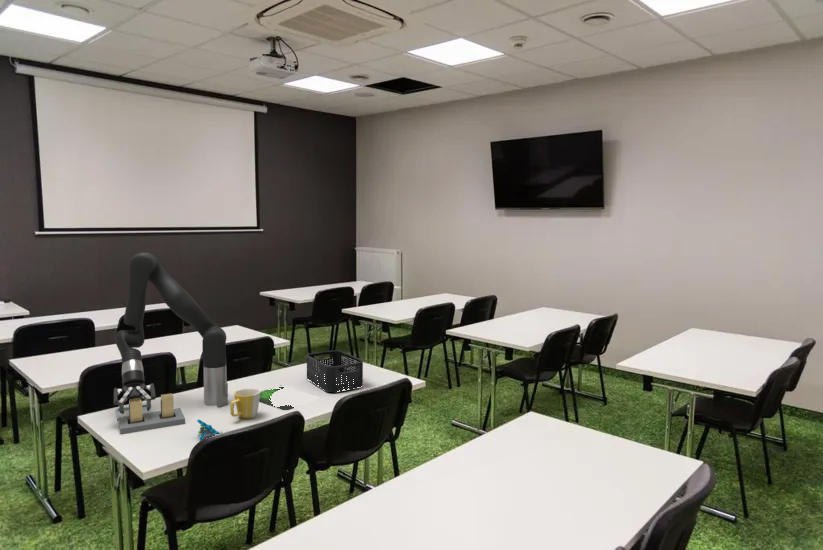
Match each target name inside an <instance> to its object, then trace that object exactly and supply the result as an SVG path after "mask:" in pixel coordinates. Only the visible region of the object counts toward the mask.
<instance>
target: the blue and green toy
mask: <svg viewBox="0 0 823 550" xmlns="http://www.w3.org/2000/svg"><path fill="white" fill-rule="evenodd" d="M196 422H197V423H198V424H200V425H199V426H200V427H199V431H198V432H197V435H196V436H197V437H199V434H201V433H202V432H203V433H202V434H201V435H200V437H199V440H200V441H202V440H203V439H204V437H205V436H206V434H208V433H210V432H211V433H213V434H214V435H216V434H221V433H220V432H219V431H217V430H216V429H215V428H214V427H213V426H212V425H211V424H207V423H206V422H204V421H202V420H201V419H197V420H196Z"/></svg>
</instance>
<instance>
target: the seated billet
mask: <svg viewBox="0 0 823 550" xmlns="http://www.w3.org/2000/svg"><path fill="white" fill-rule="evenodd" d="M174 407H175V406H174V395H173V393H167V394H166V393H164V394H160V411H161V419H164V418H171V417H174V409H175V408H174Z"/></svg>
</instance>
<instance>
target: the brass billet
mask: <svg viewBox="0 0 823 550" xmlns="http://www.w3.org/2000/svg"><path fill="white" fill-rule="evenodd" d="M128 399H129V400H128V402H129V403H128V407H129V410H128V416H129V420H130V424H133V423H139V422H143V420H142V414H143V408H142V405H143V400H142V399H143V398H142V397H139V398H132V399H130V398H128Z"/></svg>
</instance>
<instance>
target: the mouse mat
mask: <svg viewBox="0 0 823 550" xmlns="http://www.w3.org/2000/svg"><path fill="white" fill-rule="evenodd" d="M279 388H281V389H283V388H284V387H279ZM270 389H271V388H270ZM278 390H280V389H273V390H272V389H271V390H268V389H264V390H262V391H261V390H260V391H261V392H260V399H259V403H261V404H264V405H267V406H270V405H271V406H270V407H273V404H271V403H272V402H271V401H270V400H271V398H270V396H272V394H273V393H274V392H276V391H278ZM269 399H270V400H269ZM273 408H276V407H275V406H274V407H273ZM279 408H280V410H282V411H291V410H293V409H295V408H294V407H292V406H291V405H290V406H289V405H288V406H287V405H285V406H280V407H277V408H276V409H279Z"/></svg>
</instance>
